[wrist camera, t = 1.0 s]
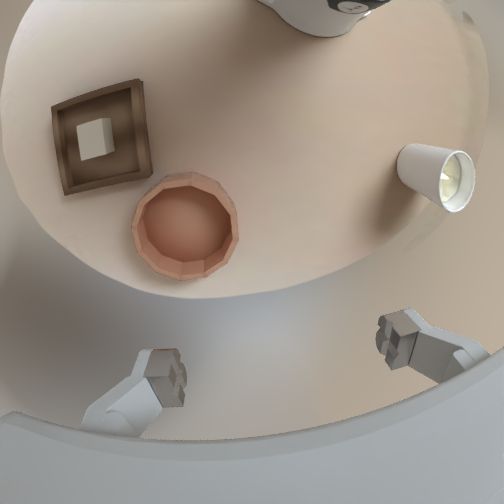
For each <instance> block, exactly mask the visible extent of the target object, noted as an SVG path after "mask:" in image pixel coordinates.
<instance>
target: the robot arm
mask: <svg viewBox="0 0 504 504" xmlns="http://www.w3.org/2000/svg"><path fill="white" fill-rule="evenodd" d="M258 1H260V2H261V3H263V4H265V5H267V6H270V7H271V8H273V9H274V10H275V11H276V12H277V13H278V14H279V15H280V16H281V17H282V18H283V19H284V20H285V21H286V22H287V23H289V24H290V25H292V26H293V27H295V28H297V29H298V30H300V31H303V32H305V33H308V34H311V35H315V36H321V37H334V36H339V35H342V34H344V33H346V32H348V31H349V30H350V29H351V28H352V27H353V26H354V24H355V23H356V22H357V21H358V20H359V19H361V18H364V17H366V16H367V15H368V14H370V10H372V9H375V8H377V7H379V6H381V5H383V4H385V3H388V2H390V1H391V0H258ZM378 325H379V326H380V329H379V330H378V331H377V333H376V345H377V348H378V350H379V352H380V353H381V354H383V355H385V356H386V357H385V361H386V363H387V364H388V366H389V367H390V369H391V370H394V369H397V368H401V367H404V366H407V365H408V366H409V367H411V368H413V369H414V370H416V371H418V372H420V373H422V374H423V375H425V376H427V377H429V378H430V379H432V380H434V381H436V382H437V383H439V384H438V385H436V386H434V387H432V388H430V389H428V390H426V391H423V392H421V393H419V394H417V395H414V396H412V397H409V398H407V399H404V400H402V401H399V402H397V403H394V404H392V405H389V406H386V407H383V408H380V409H377V410H374V411H371V412H368V413H365V414H362V415H359V416H355V417H352V418H348V419H345V420H341V421H337V422H334V423H329V424H325V425H321V426H317V427H312V428H307V429H302V430H297V431H292V432H286V433H279V434H273V435H266V436H258V437H248V438H237V439H223V440H200V441H199V440H194V441H193V440H191V441H190V440H189V441H188V440H184V441H183V440H156V439H143V438H140V435H141V434H142V433H143V432H144V431H145V430H146V428H147V427H148V426H149V425H150V424H151V422H152V421H153V420H154V419H155V418H156V417H157V415H158V414H159V413H160V412H161V411H162V409H163V407H183V405H184V397H185V394H184V391H183V389H184V388H185V387H186V383H187V375H186V370H185V367H184V364H183V363H181V362H180V353H179V351H178V349H153V350H141V351H140V352H139V355H138V358H137V360H136V363H135V366H134V368H133V371H132V373H131V376H130V377H126V378H125V379H124V380H123V381H121V382H120V383H119V384H117V385H116V386H115V387H114V388H113V389H111V390H110V391H109V392H107V393H106V394H105V395H103V396H102V397H101V398H100V399H98V400H97V401H96V402H94V403H93V404H92V405H91V406H89V407H88V409H87V411H86V414H85V416H84V418H83V421H82V423H81V426H80V429H76V428H72V427H67V426H63V425H59V424H55V423H51V422H48V421H45V420H41V419H38V418H35V417H32V416H29V415H26V414H23V413H20V412H17V411H15V412H14V411H13V412H10V413H8V414H6V415H4V416H2V417H1V418H0V504H504V347H503V348H501V349H500V350H498V351H497V352H495V353H493V354H492V355H490V354H489V353H488V352H487V351H486V350H485V349H484V348H483V347H482V346H481V345H480V344H479V343H478V342H477V341H476V340H473V339H470V338H467V337H464V336H461V335H458V334H455V333H452V332H449V331H446V330H443V329H440V328H437V327H434V326H432V327H430V326H429V325H428V324H427V323H426V322H425V320H423V318H422V317H421V316H420V315H418V313H417V312H416V311H415V310H414V309H413V308H410V307H409V308H406V309H403V310H400V311H397V312H394V313H390V314H386V315H382V316H380V318H379V321H378Z"/></svg>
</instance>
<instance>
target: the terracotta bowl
mask: <svg viewBox="0 0 504 504" xmlns="http://www.w3.org/2000/svg"><path fill="white" fill-rule="evenodd" d="M131 230H132V234H133V238H134V242H135V246H136V249H137V253H138V254H139V255H140V256H141V257H142V258H143V259H144V260H145V261H146V262H147V264H148V265H149V266H150V267H151V268H152V269H153V270H154V271H155V272H158V273H160V274H163V275H166V276H169V277H172V278H175V279H177V280H188V279H196V278H205V277H207V276H209V275H210V274H212V273H213V272H215V271H216V270H218V269H219V268H221V267H222V266H224V265H225V264H227V263H228V261H229V259H230V257H231V255H232V253H233V251H234V249H235V247H236V245H237V243H238V241H239V236H238V225H237V214H236V210H235V206H234V203H233V201H232V200H231V199H230V197H229V196H228V195H227V193H226V192H225V191H224V189H223V188H222V187H221V185H220V184H219V183H218V182H217V181H214V180H212V179H210V178H207V177H205V176H202V175H200V174H197V173H195V172H190V173H182V174H176V175H169V176H166V177H165V178H164V179H162V180H161V181H160V182H159V183H158V184H156V185H155V186H154V187H153V188H152V189H150V190H149V191H148V192H147V193H146V194H145V195H144V196H143V198H142V199H141V200H140V201H139V204H138V207H137V210H136V213H135V216H134V219H133V222H132V226H131Z"/></svg>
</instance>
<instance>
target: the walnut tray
mask: <svg viewBox="0 0 504 504" xmlns="http://www.w3.org/2000/svg"><path fill="white" fill-rule="evenodd" d="M51 112H52V123H53V132H54V140H55V148H56V154H57V160H58V166H59V172H60V177H61V182H62V186H63V191H64V195H65V196H66V195H70V194H74V193H78V192H82V191H86V190H90V189H95V188H99V187H103V186H108V185H113V184H117V183H122V182H127V181H132V180H138V179H143V178H149V177H150V176H151V175H152V174H153V171H152V164H151V157H150V149H149V142H148V133H147V124H146V114H145V103H144V91H143V81H141V80H139V79H134V80H130V81H126V82H122V83H118V84H114V85H111V86H108V87H104V88H101V89H98V90H95V91H92V92H89V93H86V94H83V95H80V96H77V97H74V98H72V99H69V100H67V101H64V102H61V103H59V104H57V105H54V106H52V107H51ZM100 118H111V125H112V134H113V141H114V149H115V151H114V152H111V153H108V154H105V155H101V156H97V157H93V158H90V159H86V160H82V161H81V156H80V150H79V143H78V135H77V127H76V126H78V125H81V124H84V123H87V122H90V121H94V120H97V119H100Z"/></svg>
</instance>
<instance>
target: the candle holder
mask: <svg viewBox="0 0 504 504" xmlns="http://www.w3.org/2000/svg"><path fill="white" fill-rule="evenodd" d="M397 172H398V176H399V178H400V180H401V181H402V182H403V183H404V184H405V185H406V186H408V187H409V188H411V189H413V190H415V191H416V192H418V193H420V194H422V195H423V196H425V197H427V198H428V199H430V200H432V201H433V202H435V203H436V204H438V205H440V206H441V207H443V208H444V209H445V210H447V211H448V212H453V213H454V212H458V211H460V210H461V209H463V208H464V207H465V206H466V204H467V203H468V201H469V200H470V198H471V196H472V193H473V189H474V185H475V169H474V165H473V162H472V160H471V158H470V157H469V156H468V154H466V153H465V152H463V151H459V150H452V149H447V148H442V147H436V146H430V145H424V144H416V143H412V144H408V145H407V146H405V147H404V148H403V149H402V150H401V152H400V154H399V156H398V160H397Z"/></svg>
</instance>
